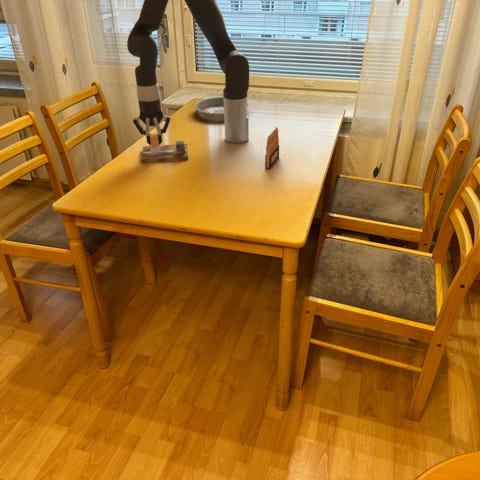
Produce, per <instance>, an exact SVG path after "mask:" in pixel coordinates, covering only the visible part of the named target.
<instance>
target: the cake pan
mask: <svg viewBox="0 0 480 480" xmlns="http://www.w3.org/2000/svg"><path fill="white" fill-rule="evenodd" d="M211 107H212V108H218V107H220V108H221V107H224V99H223V96H216V97H209V98H204V99H201V100H199V101H197V102H196V103H195V104H194V109H195V110H196V111H197V113H198V114H197V115H198V117H199V118H200V117H201V119H202V120H204V119H205V121H208V120H209V121H208V122H218V123H219V122H220V123H222V122H224V108H223V109H218V110H213V111H214V112H213V113H210V112H211V111H205V110H208V109H212V108H211ZM247 107H249V103H248V102H247ZM207 108H208V109H207ZM202 110H203V111H202Z"/></svg>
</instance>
